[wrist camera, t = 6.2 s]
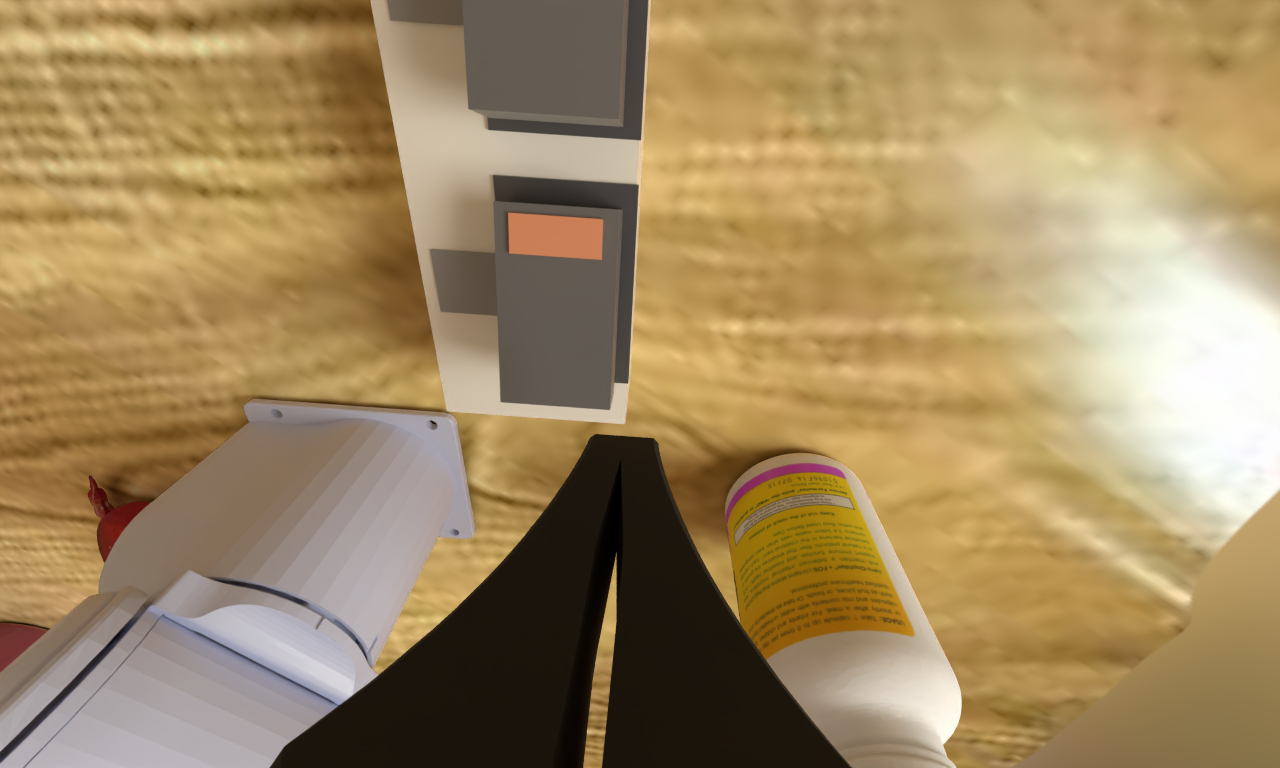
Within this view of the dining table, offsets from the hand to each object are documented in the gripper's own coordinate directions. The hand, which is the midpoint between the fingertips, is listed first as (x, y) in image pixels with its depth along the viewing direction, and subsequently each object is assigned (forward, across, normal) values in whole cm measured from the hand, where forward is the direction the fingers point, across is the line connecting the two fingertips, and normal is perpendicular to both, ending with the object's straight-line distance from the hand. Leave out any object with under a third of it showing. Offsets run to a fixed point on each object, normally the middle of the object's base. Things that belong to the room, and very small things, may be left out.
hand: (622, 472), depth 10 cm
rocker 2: (+5, +2, -2) cm, 6 cm away
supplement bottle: (+10, -8, +10) cm, 16 cm away
